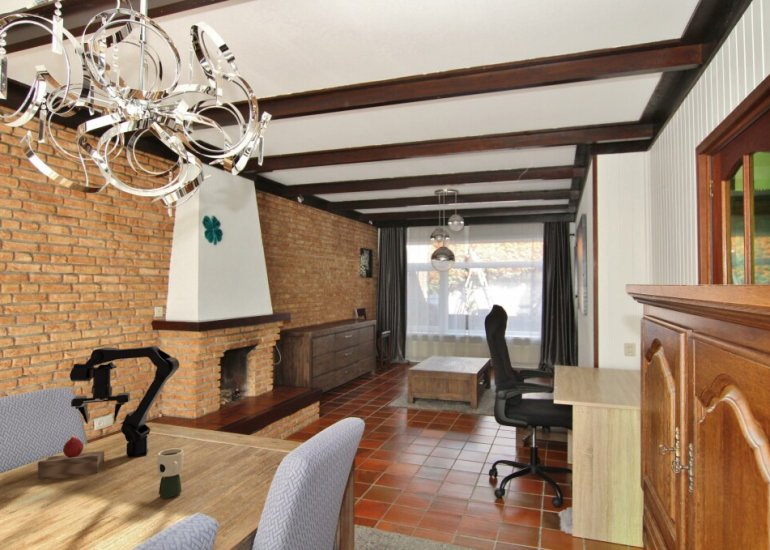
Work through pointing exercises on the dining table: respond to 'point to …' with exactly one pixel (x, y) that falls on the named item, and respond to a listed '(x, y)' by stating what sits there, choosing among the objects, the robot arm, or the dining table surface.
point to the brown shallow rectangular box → (70, 465)
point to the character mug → (170, 472)
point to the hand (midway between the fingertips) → (101, 422)
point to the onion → (73, 447)
